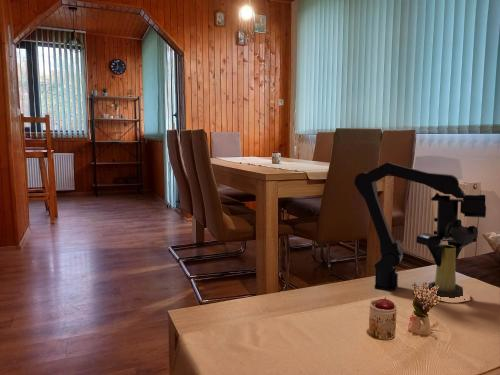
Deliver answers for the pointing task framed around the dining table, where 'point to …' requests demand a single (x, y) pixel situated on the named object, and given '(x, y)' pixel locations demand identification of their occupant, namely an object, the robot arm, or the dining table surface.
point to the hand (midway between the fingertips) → (445, 265)
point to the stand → (448, 293)
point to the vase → (447, 269)
